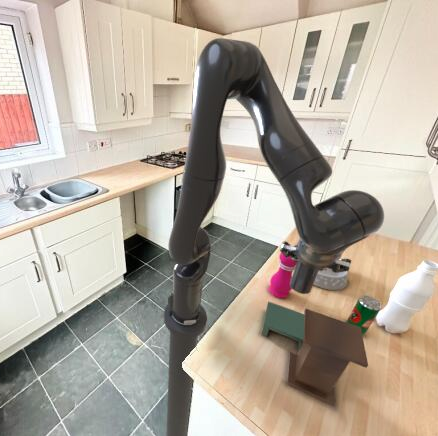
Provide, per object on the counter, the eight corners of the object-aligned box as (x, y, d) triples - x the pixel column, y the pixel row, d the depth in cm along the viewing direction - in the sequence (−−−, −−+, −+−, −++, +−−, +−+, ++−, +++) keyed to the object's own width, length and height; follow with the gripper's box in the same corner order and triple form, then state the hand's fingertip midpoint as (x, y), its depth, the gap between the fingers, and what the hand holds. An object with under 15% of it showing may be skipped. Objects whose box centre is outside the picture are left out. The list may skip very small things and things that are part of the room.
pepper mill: (264, 291, 89) (277, 247, 80) (272, 282, 94) (285, 239, 84) (284, 303, 85) (300, 257, 75) (292, 292, 89) (308, 247, 79)
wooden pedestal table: (284, 384, 62) (304, 339, 53) (287, 352, 69) (305, 308, 60) (336, 410, 56) (368, 365, 48) (333, 372, 64) (360, 327, 55)
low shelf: (260, 335, 74) (263, 324, 72) (264, 311, 81) (268, 301, 79) (305, 354, 68) (310, 342, 66) (306, 327, 76) (310, 316, 74)
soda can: (361, 338, 72) (378, 310, 66) (341, 326, 76) (356, 299, 70) (368, 330, 74) (385, 302, 69) (349, 318, 78) (364, 291, 73)
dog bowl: (329, 260, 105) (333, 250, 102) (356, 291, 89) (362, 280, 86) (287, 258, 106) (290, 248, 104) (307, 288, 90) (312, 278, 88)
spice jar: (288, 289, 65) (299, 257, 60) (289, 278, 69) (300, 246, 64) (311, 297, 63) (324, 263, 58) (311, 284, 67) (323, 252, 62)
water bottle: (367, 320, 78) (405, 258, 66) (383, 314, 80) (422, 253, 68) (394, 339, 72) (440, 275, 60) (410, 332, 74) (458, 268, 62)
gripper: (367, 241, 47) (345, 259, 61) (285, 222, 54) (282, 241, 69) (358, 278, 46) (337, 287, 60) (275, 252, 53) (274, 266, 67)
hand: (308, 263), depth 64 cm, fingers closed on spice jar, 5 cm apart
